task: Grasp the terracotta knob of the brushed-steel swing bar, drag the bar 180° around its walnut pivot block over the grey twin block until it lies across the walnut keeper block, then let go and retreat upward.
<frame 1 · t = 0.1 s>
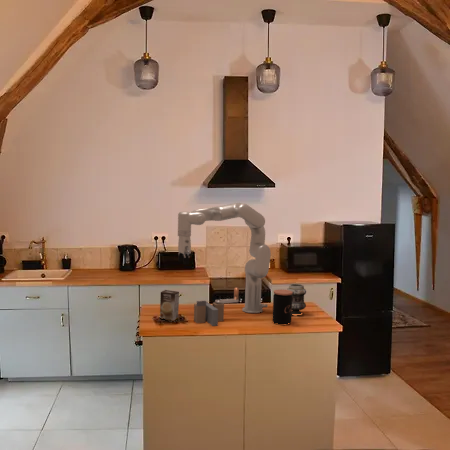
hand: (183, 263, 292), 31 cm above the countertop, fingers open, 9 cm apart
swing bar: (227, 295, 290), point 14 cm above the countertop, hinge at -180.0°
coffee box: (169, 319, 288), on the countertop
coffee jar: (281, 323, 288), on the countertop
grey twin block: (217, 320, 290), on the countertop
apothecary jar: (295, 314, 308), on the countertop
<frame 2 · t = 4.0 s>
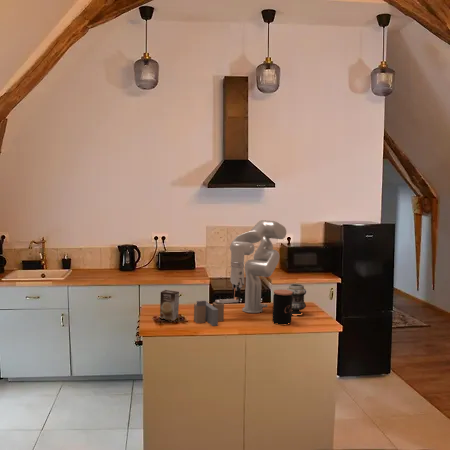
hand: (236, 296, 293), 13 cm above the countertop, fingers closed on swing bar, 2 cm apart
swing bar: (227, 295, 290), point 14 cm above the countertop, hinge at -180.0°, touching gripper
everything else where it was.
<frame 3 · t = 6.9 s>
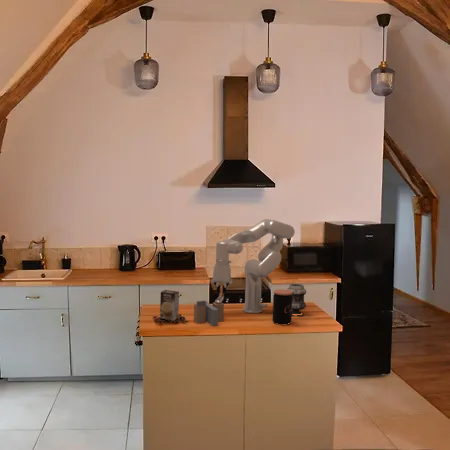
hand: (221, 293, 299), 13 cm above the countertop, fingers closed on swing bar, 2 cm apart
swing bar: (219, 293, 294), point 14 cm above the countertop, hinge at -120.7°, touching gripper
everything else where it was.
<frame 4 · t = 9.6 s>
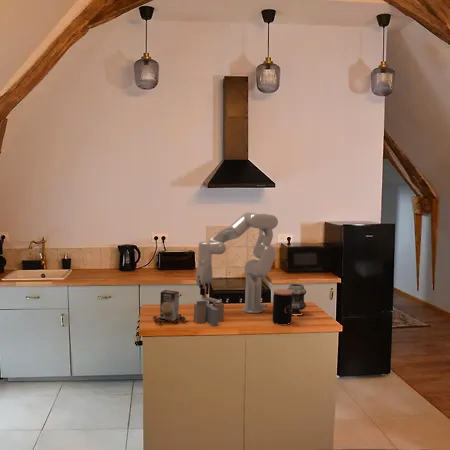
hand: (204, 294, 295), 13 cm above the countertop, fingers closed on swing bar, 2 cm apart
swing bar: (211, 294, 292), point 14 cm above the countertop, hinge at -63.0°, touching gripper
everything else where it was.
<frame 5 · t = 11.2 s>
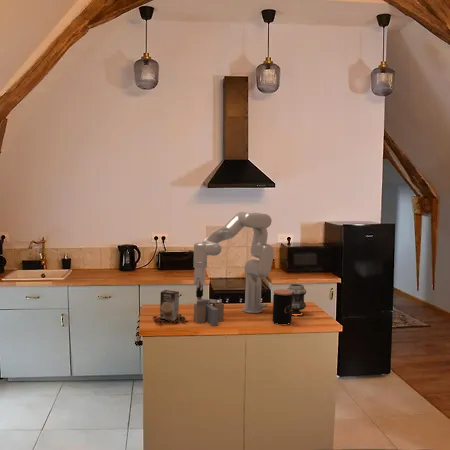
hand: (199, 296, 290), 13 cm above the countertop, fingers closed on swing bar, 2 cm apart
swing bar: (209, 295, 289), point 14 cm above the countertop, hinge at -31.7°, touching gripper
everything else where it was.
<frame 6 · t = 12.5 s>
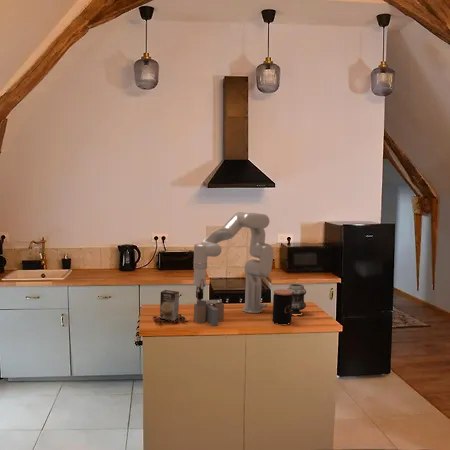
hand: (199, 298, 286), 13 cm above the countertop, fingers closed on swing bar, 2 cm apart
swing bar: (209, 296, 287), point 14 cm above the countertop, hinge at -8.8°, touching gripper
everything else where it was.
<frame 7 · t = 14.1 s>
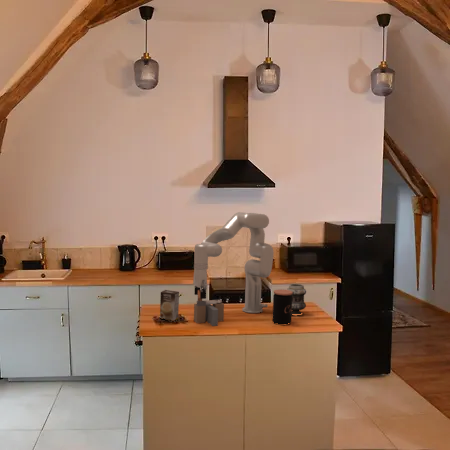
hand: (200, 296, 284), 14 cm above the countertop, fingers open, 9 cm apart
swing bar: (209, 296, 287), point 14 cm above the countertop, hinge at -1.6°
everything else where it was.
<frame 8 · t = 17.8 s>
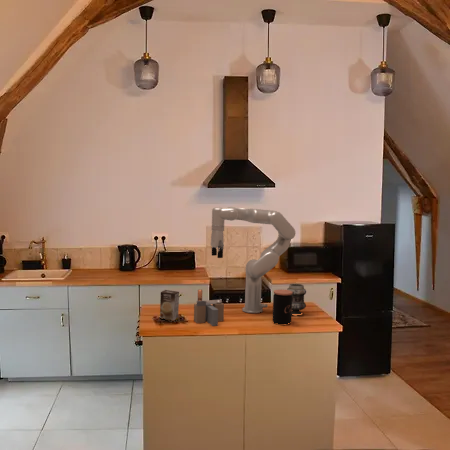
hand: (217, 256, 306), 33 cm above the countertop, fingers open, 9 cm apart
nothing on the countertop moved.
at the end: swing bar at -2° (first picture: -180°); the gripper is holding nothing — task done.
